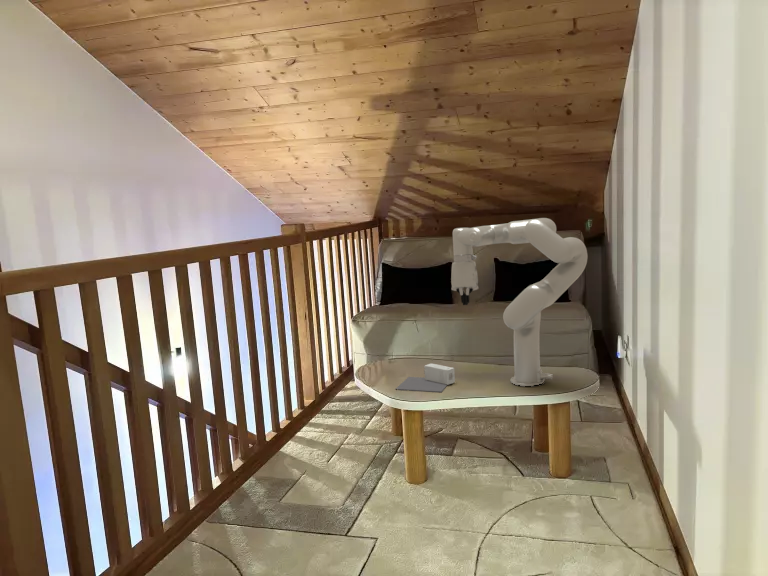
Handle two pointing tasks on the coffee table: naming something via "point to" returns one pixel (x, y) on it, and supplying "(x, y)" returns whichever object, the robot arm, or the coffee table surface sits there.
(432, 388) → the mat
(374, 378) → the coffee table surface
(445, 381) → the skincare box
